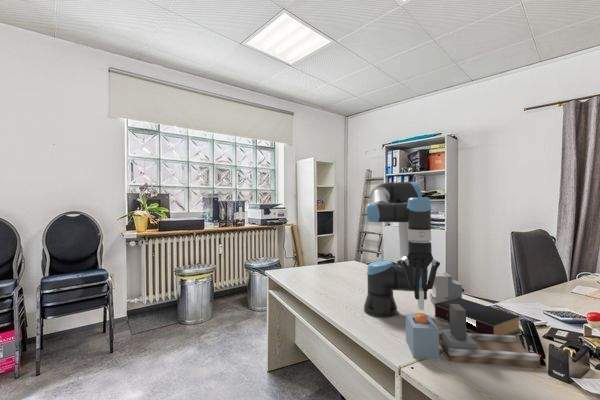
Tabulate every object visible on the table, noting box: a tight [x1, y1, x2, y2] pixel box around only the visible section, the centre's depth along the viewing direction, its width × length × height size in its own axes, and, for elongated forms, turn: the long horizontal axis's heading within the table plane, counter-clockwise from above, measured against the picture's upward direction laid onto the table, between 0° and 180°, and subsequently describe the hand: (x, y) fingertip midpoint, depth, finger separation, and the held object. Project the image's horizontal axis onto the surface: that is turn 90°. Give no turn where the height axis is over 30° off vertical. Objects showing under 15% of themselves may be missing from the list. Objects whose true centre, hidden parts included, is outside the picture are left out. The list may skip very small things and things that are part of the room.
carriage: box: [440, 304, 477, 350], centre depth 98 cm, size 8×10×13 cm
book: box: [434, 297, 520, 335], centre depth 120 cm, size 17×25×7 cm
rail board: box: [439, 331, 541, 369], centre depth 97 cm, size 26×14×4 cm, turn 81°
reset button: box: [414, 312, 428, 324], centre depth 100 cm, size 4×4×4 cm
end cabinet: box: [405, 313, 440, 360], centre depth 100 cm, size 8×12×10 cm, turn 171°
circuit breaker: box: [429, 272, 465, 307], centre depth 143 cm, size 8×14×15 cm, turn 78°
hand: (420, 308), depth 100 cm, fingers closed
